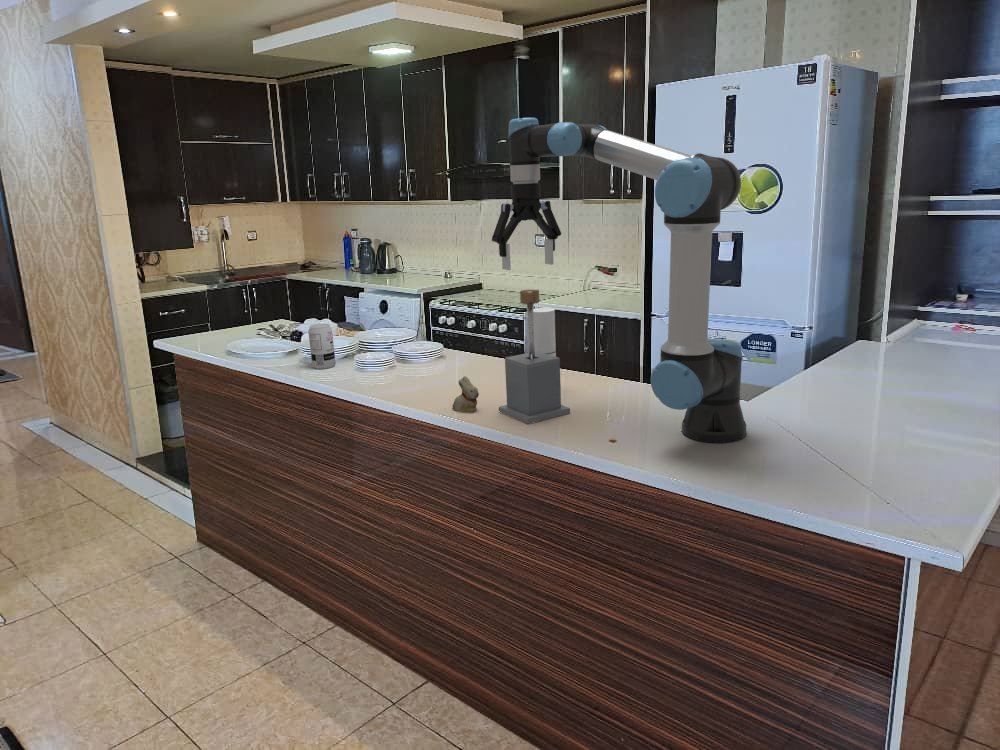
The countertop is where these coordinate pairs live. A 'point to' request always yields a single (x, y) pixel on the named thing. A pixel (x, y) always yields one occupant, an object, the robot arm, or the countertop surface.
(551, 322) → the cylindrical container
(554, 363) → the block
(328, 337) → the supplement can
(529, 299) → the plunger
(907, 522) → the countertop surface
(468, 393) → the chocolate bunny
